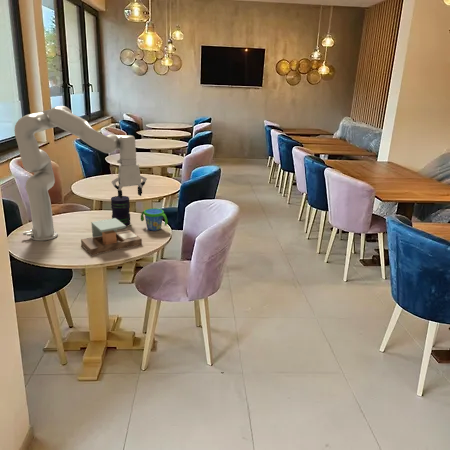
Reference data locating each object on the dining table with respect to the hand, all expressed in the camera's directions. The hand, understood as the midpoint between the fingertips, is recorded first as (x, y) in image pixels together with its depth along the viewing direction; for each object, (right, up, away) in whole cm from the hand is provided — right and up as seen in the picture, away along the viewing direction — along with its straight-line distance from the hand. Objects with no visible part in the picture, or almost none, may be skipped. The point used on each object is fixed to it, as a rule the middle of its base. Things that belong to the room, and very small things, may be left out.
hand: (130, 196), depth 202 cm
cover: (-9, -21, -4) cm, 23 cm away
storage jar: (-11, -14, +26) cm, 31 cm away
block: (-9, -23, -3) cm, 25 cm away
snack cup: (+8, -16, +21) cm, 28 cm away
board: (-9, -24, -2) cm, 25 cm away
